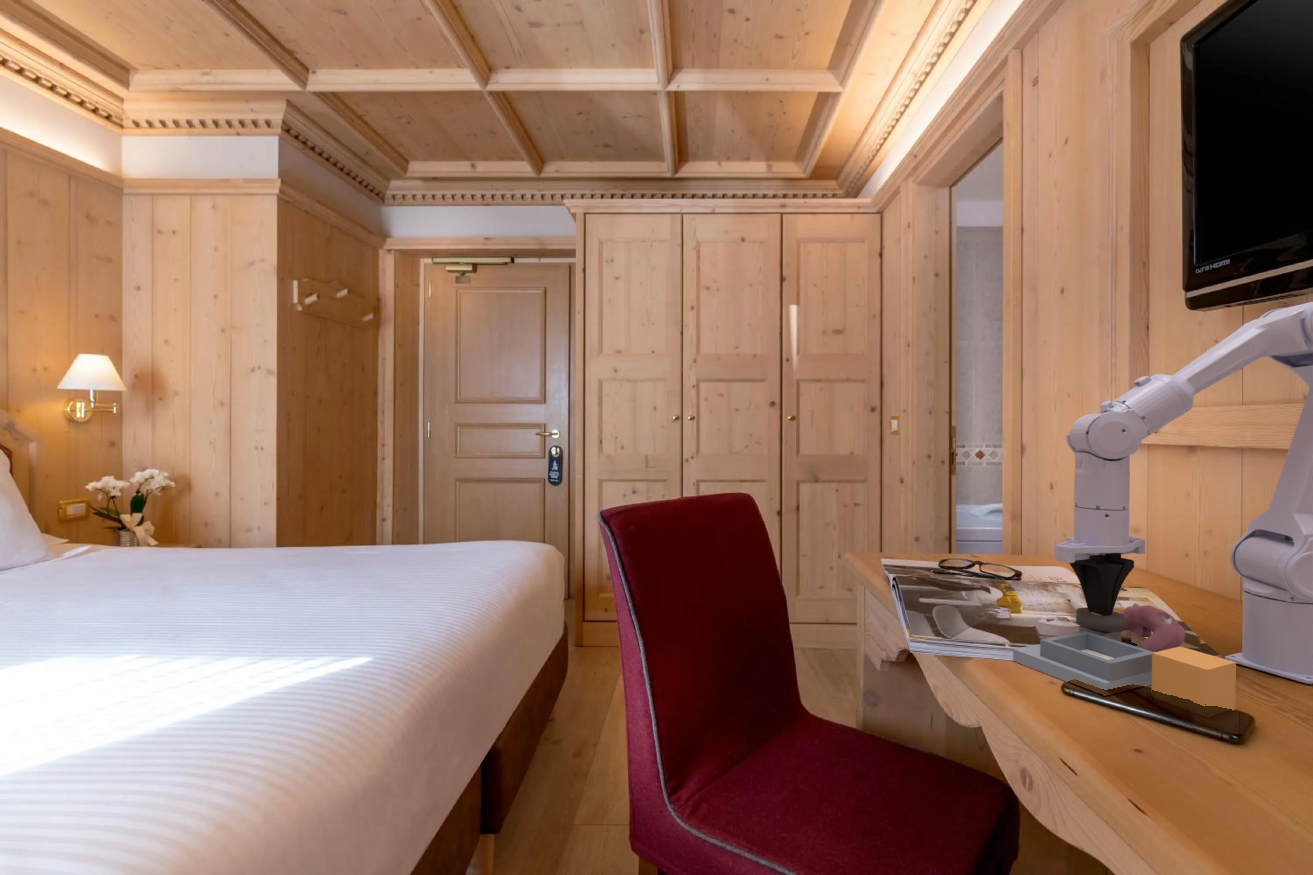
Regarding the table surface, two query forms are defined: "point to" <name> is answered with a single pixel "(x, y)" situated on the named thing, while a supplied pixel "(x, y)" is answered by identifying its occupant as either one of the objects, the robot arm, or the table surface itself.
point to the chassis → (1089, 659)
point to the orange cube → (1195, 677)
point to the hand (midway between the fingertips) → (1099, 613)
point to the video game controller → (1153, 627)
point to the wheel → (1100, 621)
